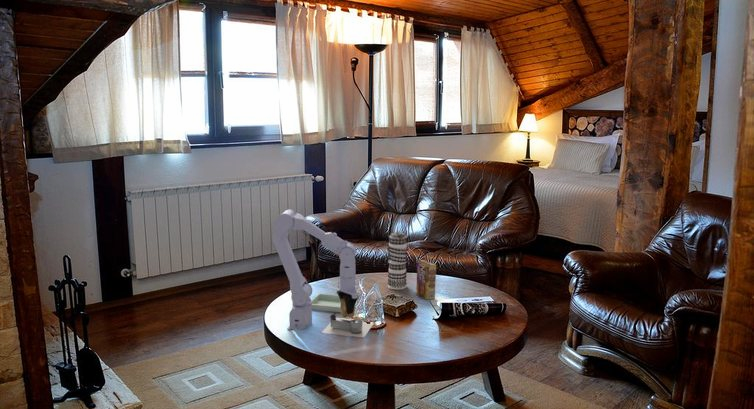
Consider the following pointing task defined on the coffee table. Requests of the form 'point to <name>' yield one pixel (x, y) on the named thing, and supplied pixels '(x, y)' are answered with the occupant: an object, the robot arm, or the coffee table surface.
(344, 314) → the block
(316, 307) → the tray
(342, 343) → the coffee table surface
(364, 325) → the board
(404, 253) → the patterned cylinder
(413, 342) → the coffee table surface
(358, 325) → the crank
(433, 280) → the candy box
